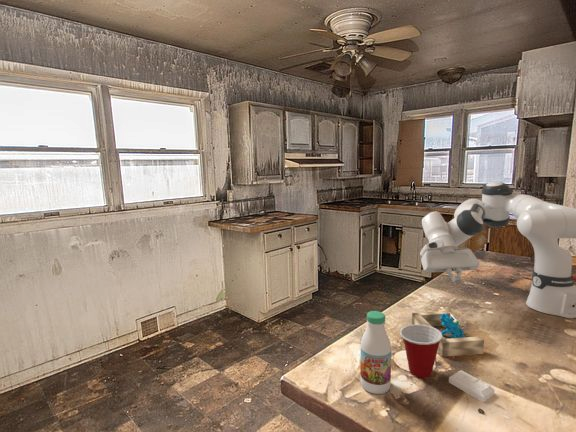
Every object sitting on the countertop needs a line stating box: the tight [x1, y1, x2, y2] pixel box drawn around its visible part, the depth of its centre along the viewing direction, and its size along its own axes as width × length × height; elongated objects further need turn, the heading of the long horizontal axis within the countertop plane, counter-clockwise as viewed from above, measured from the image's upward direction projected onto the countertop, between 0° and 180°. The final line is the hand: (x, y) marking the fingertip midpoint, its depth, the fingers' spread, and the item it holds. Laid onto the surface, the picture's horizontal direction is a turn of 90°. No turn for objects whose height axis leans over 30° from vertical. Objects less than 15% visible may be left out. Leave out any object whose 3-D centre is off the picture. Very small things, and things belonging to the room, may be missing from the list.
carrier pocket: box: [411, 310, 485, 358], centre depth 107 cm, size 13×20×4 cm, turn 4°
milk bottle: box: [359, 310, 392, 395], centre depth 84 cm, size 8×8×20 cm
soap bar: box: [448, 369, 495, 403], centre depth 84 cm, size 5×9×3 cm, turn 31°
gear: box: [440, 313, 466, 339], centre depth 108 cm, size 11×6×10 cm
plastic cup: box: [399, 324, 443, 379], centre depth 90 cm, size 11×11×12 cm
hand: (457, 281), depth 117 cm, fingers closed
